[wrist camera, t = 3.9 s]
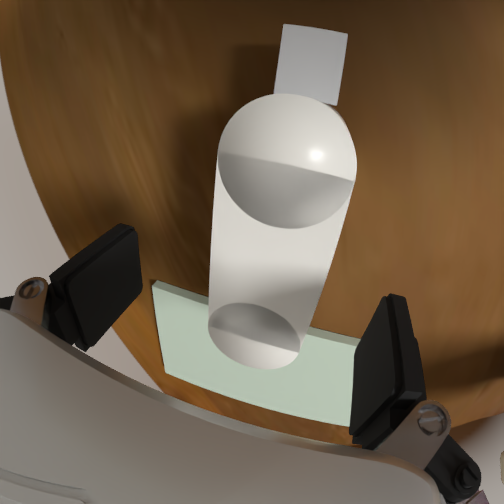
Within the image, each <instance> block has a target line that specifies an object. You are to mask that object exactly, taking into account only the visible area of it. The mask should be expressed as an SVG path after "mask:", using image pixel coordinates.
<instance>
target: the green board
mask: <svg viewBox="0 0 504 504" xmlns="http://www.w3.org/2000/svg"><path fill="white" fill-rule="evenodd" d="M152 291H153V299H154V306H155V313H156V320H157V326H158V333H159V339H160V345H161V350H162V356H163V361H164V366H165V371H166V373H168V374H170V375H172V376H175V377H177V378H180V379H182V380H185V381H187V382H190V383H192V384H195V385H197V386H200V387H203V388H205V389H208V390H211V391H214V392H217V393H219V394H222V395H225V396H228V397H231V398H234V399H237V400H240V401H244V402H247V403H250V404H253V405H257V406H260V407H264V408H267V409H271V410H275V411H278V412H282V413H286V414H290V415H294V416H298V417H303V418H307V419H312V420H316V421H321V422H326V423H332V424H337V425H343V426H350V415H351V403H352V388H353V368H354V353H355V349H356V347H357V345H358V343H359V342H360V340H361V339H358V338H354V337H349V336H345V335H341V334H337V333H333V332H329V331H325V330H321V329H317V328H313V327H309V328H308V331H307V333H306V336H305V338H304V341H303V344H302V346H301V349H300V351H299V354H298V355H297V357H296V358H295V360H294V361H292V362H291V363H290V364H288V365H286V366H284V367H281V368H277V369H257V368H252V367H248V366H245V365H242V364H240V363H238V362H236V361H234V360H232V359H230V358H229V357H227V356H226V355H225V354H223V353H222V352H221V351H220V350H219V349H218V348H217V347H216V345H215V344H214V343H213V341H212V339H211V337H210V335H209V331H208V305H209V297H206V296H203V295H200V294H197V293H194V292H191V291H188V290H185V289H182V288H179V287H176V286H173V285H170V284H167V283H164V282H161V281H158V280H157V281H156V282H155V283H154V284H153V285H152Z"/></svg>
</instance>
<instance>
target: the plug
mask: <svg viewBox="0 0 504 504" xmlns="http://www.w3.org/2000/svg"><path fill="white" fill-rule="evenodd" d="M347 38H348V34H346V33H341V32H336V31H331V30H325V29H319V28H313V27H306V26H298V25H290V24H284V25H283V32H282V39H281V46H280V53H279V60H278V67H277V74H276V81H275V88H274V94H272V95H267V96H263V97H260V98H257V99H255V100H253V101H251V102H249V103H248V104H246V105H245V106H243V107H242V108H241V109H240V110H238V111H237V112H236V113H235V114H234V115H233V117H232V118H231V119H230V120H229V122H228V123H227V125H226V127H225V129H224V131H223V133H222V135H221V139H220V142H219V147H218V155H217V167H216V179H215V192H214V206H213V221H212V238H211V256H210V278H209V305H208V331H209V335H210V337H211V339H212V341H213V343H214V344H215V345H216V347H217V348H218V349H219V350H220V351H221V352H222V353H223V354H225V355H226V356H227V357H229V358H230V359H232V360H234V361H236V362H238V363H240V364H242V365H245V366H248V367H252V368H257V369H277V368H281V367H284V366H286V365H288V364H290V363H291V362H292V361H294V360H295V358H296V357H297V355H298V354H299V351H300V349H301V346H302V344H303V341H304V338H305V336H306V333H307V331H308V328H309V325H310V323H311V320H312V317H313V314H314V312H315V309H316V306H317V303H318V300H319V298H320V295H321V292H322V289H323V286H324V283H325V280H326V277H327V274H328V271H329V268H330V265H331V262H332V259H333V256H334V252H335V249H336V246H337V243H338V239H339V236H340V233H341V229H342V226H343V223H344V219H345V216H346V212H347V208H348V205H349V201H350V197H351V194H352V190H353V186H354V182H355V177H356V170H357V160H356V152H355V148H354V144H353V141H352V139H351V136H350V133H349V131H348V128H347V125H346V123H345V121H344V119H343V118H342V116H341V115H340V114H339V113H338V112H337V111H336V110H335V109H334V108H333V107H332V106H330V105H329V104H332V105H336V106H337V101H338V96H339V90H340V84H341V78H342V72H343V65H344V59H345V52H346V45H347Z"/></svg>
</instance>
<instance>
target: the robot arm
mask: <svg viewBox="0 0 504 504" xmlns="http://www.w3.org/2000/svg"><path fill="white" fill-rule="evenodd" d="M49 277H50V280H51V283H50V284H49V285H48V283H47V282H46V280H45V279H44V278H41V277H33V278H30V279H27V280H25V281H24V282H22V283H21V284H20V285H19V286H18V287H17V289H16V292H15V295H14V296H9V297H4V298H0V504H489V502H488V500H487V498H486V495H485V493H484V491H483V490H482V491H479V486H480V483H481V472H480V469H479V467H478V465H477V464H476V463H475V462H474V461H473V459H472V458H471V457H469V455H468V454H467V453H466V452H465V451H464V450H463V449H462V448H461V447H460V446H459V445H458V444H457V443H456V442H455V441H454V440H453V439H452V437H451V436H450V435H449V434H448V433H449V431H450V429H451V419H450V415H449V413H448V411H447V409H446V408H445V407H444V406H443V405H442V404H440V403H439V402H437V401H434V400H427V399H426V390H425V383H424V376H423V370H422V364H421V358H420V352H419V347H418V342H417V339H416V338H415V337H414V333H413V328H412V324H411V319H410V315H409V310H408V306H407V302H406V298H405V297H403V296H399V295H395V294H389V295H388V296H387V297H386V296H383V298H382V299H381V301H380V303H379V305H378V307H377V309H376V311H375V313H374V315H373V317H372V319H371V321H370V323H369V325H368V327H367V329H366V331H365V332H364V334H363V336H362V338H361V340H360V342H359V343H358V345H357V347H356V349H355V353H354V368H353V388H352V403H351V415H350V426H349V434H350V435H353V440H352V444H360V445H362V449H361V448H354V447H350V446H345V445H338V444H332V443H327V442H322V441H316V440H312V439H307V438H302V437H298V436H294V435H289V434H285V433H281V432H277V431H273V430H269V429H265V428H261V427H258V426H254V425H251V424H247V423H244V422H240V421H237V420H234V419H231V418H228V417H225V416H222V415H219V414H216V413H213V412H210V411H207V410H205V409H202V408H199V407H196V406H194V405H191V404H189V403H186V402H183V401H181V400H178V399H176V398H174V397H171V396H169V395H166V394H164V393H162V392H160V391H157V390H155V389H153V388H151V387H148V386H146V385H144V384H142V383H140V382H138V381H136V380H134V379H131V378H129V377H127V376H125V375H123V374H121V373H120V372H118V371H116V370H114V369H111V368H110V367H108V366H106V365H104V364H102V363H101V362H99V361H97V360H95V359H93V358H92V357H90V356H88V355H86V354H85V353H83V352H81V351H80V350H78V349H76V348H75V347H73V346H72V345H73V344H74V343H75V345H76V347H78V348H79V349H81V350H83V351H84V352H86V351H87V350H88V349H89V347H92V346H94V345H95V344H96V343H97V342H98V341H99V339H100V338H101V337H102V336H103V335H104V333H105V332H106V331H107V330H108V329H109V328H110V327H111V326H112V324H113V323H114V322H115V321H116V320H117V319H118V318H119V317H120V315H121V314H122V313H123V312H124V311H125V310H126V309H127V308H128V306H129V305H130V304H131V303H132V302H133V301H134V300H135V299H136V298H137V297H138V295H139V294H140V293H141V291H142V287H143V284H142V276H141V267H140V257H139V247H138V235H137V232H136V231H135V229H134V227H132V226H129V225H125V224H121V223H120V224H118V225H116V226H115V227H114V228H112V229H111V230H109V231H108V232H106V233H105V234H104V235H102V236H101V237H99V238H98V239H97V240H95V241H94V242H92V243H91V244H90V245H88V246H87V247H86V248H84V249H83V250H81V251H80V252H79V253H77V254H76V255H75V256H74V257H72V258H71V259H70V260H68V261H67V262H66V263H64V264H63V265H62V266H61V267H59V268H58V269H57V270H56V271H54V272H53V273H52V274H51V275H50V276H49Z"/></svg>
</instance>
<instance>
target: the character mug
mask: <svg viewBox="0 0 504 504" xmlns="http://www.w3.org/2000/svg"><path fill="white" fill-rule="evenodd" d="M500 463H501V480H502V483H503V484H504V451H503V452H502V453H501V457H500Z"/></svg>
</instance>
